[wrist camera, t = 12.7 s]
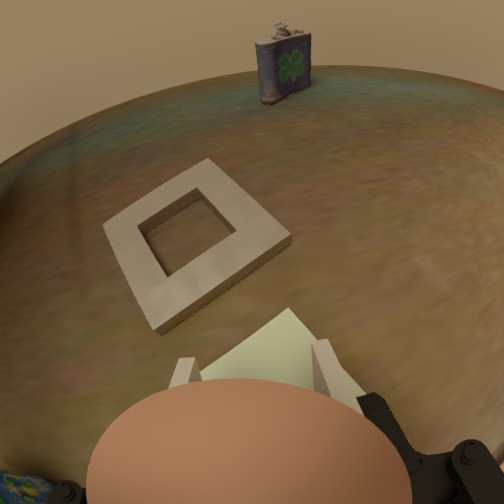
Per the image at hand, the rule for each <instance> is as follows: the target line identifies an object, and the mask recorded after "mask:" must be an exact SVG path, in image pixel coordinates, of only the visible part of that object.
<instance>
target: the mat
mask: <svg viewBox="0 0 504 504" xmlns="http://www.w3.org/2000/svg"><path fill="white" fill-rule="evenodd" d="M312 341H317V339H316V338H315V337H314V336H313V335H312V333H311V332H310V331H309V330H308V329H307V328H306V327H305V326H304V325H303V323H302V322H301V321H300V320H299V319H298V318H297V317H296V316H295V314H294V313H293V312H292V311H291V310H290V309H289V308H287V309H286V310H284V311H283V312H282V313H280V314H279V315H278V316H276V317H275V318H274V319H273V320H271V321H270V322H269V323H267V324H266V325H265V326H263V327H262V328H261V329H259V330H258V331H257V332H255V333H254V334H253V335H251V336H250V337H248V338H247V339H246V340H244V341H243V342H242V343H240V344H239V345H237V346H236V347H235V348H233V349H232V350H231V351H229V352H228V353H226V354H225V355H223V356H222V357H221V358H219V359H218V360H216V361H215V362H213V363H212V364H211V365H209V366H208V367H206V368H205V369H203V370H202V371H200V374H201V377H202V381H204V380H211V379H228V378H246V379H262V380H269V381H275V382H281V383H287V384H291V385H295V386H298V387H302V388H306V389H310V390H313V391H315V390H314V387H313V370H312V353H311V342H312ZM341 368H342V367H341ZM342 370H343V372H344V374H345V376H346V378H347V380H348V382H349V384H350V386H351V389H352V391H353V393H354V395H355V397H359V396H363V395H366V393H365V392H364V391H363V390H362V389H361V388H360V387H359V385H358V384H357V383H356V382H355V381H354V380H353V379H352V378H351V377H350V376H349V374H348V373H347V372H346V371H345V370H344V369H343V368H342Z"/></svg>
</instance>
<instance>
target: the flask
mask: <svg viewBox="0 0 504 504" xmlns="http://www.w3.org/2000/svg"><path fill="white" fill-rule="evenodd" d="M280 24H281V25H280ZM275 25H276V26H277V31H276V34H277V35H275V36H271V37H268V38H265V39H262V40H259V41H257V42H256V43H255V46H256V54H257V63H258V75H259V84H260V99H261V102H262V101H263V102H264V103H265V104H267V105H270V104H272V103H278V102H281V101H280V100H283V99H286V98H289V97H291V96H293V95H294V93H299V92H300V91H304V90H305V89H309V88H310V70H311V33H309V32H306V31H303V30H297V29H294V30H290V31H289V30H287V29H286V27H288V26H286V25H285V24H282V23H278V24H275ZM273 27H274V26H273ZM293 31H294V32H293ZM263 102H262V103H263Z"/></svg>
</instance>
